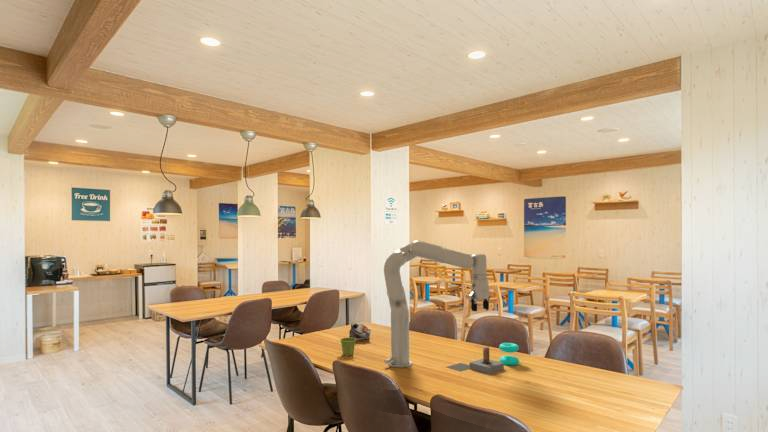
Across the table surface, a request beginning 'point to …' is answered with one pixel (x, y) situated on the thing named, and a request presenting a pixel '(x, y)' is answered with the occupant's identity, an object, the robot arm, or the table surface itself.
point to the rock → (359, 331)
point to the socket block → (486, 366)
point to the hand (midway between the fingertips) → (480, 309)
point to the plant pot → (348, 346)
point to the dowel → (486, 355)
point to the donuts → (509, 359)
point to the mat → (459, 367)
